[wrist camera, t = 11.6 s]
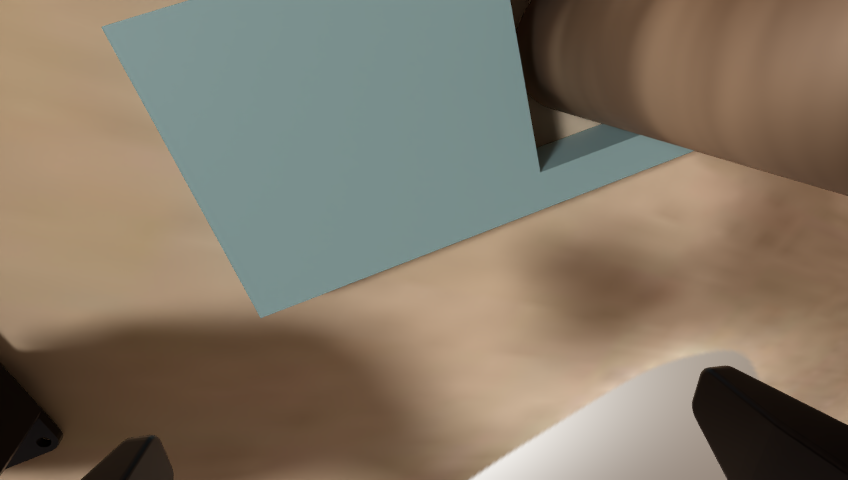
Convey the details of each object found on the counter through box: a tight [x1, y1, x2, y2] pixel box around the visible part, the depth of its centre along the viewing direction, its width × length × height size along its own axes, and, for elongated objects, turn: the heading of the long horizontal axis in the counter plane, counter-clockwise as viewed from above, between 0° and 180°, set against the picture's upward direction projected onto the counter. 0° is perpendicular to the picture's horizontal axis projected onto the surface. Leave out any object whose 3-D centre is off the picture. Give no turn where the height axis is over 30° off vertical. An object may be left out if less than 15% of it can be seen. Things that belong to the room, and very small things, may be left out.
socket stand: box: [102, 0, 694, 318], centre depth 17 cm, size 20×10×2 cm, turn 106°
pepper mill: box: [516, 0, 848, 196], centre depth 12 cm, size 5×5×15 cm
